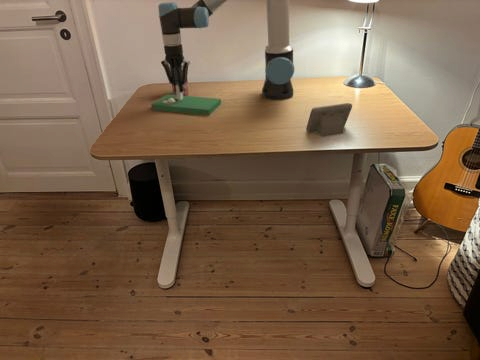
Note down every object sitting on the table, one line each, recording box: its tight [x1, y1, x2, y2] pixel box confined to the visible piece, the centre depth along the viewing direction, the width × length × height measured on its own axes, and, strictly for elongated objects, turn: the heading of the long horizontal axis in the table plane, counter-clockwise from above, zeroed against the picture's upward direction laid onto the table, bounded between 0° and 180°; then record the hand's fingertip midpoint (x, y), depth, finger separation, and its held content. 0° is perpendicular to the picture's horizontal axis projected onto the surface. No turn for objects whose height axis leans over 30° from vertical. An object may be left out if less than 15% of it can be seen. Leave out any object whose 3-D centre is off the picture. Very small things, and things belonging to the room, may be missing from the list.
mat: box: [151, 93, 222, 116], centre depth 158 cm, size 28×14×2 cm, turn 71°
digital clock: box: [305, 102, 353, 137], centre depth 129 cm, size 16×9×11 cm, turn 93°
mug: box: [170, 64, 189, 96], centre depth 171 cm, size 13×9×14 cm
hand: (180, 98), depth 158 cm, fingers closed
